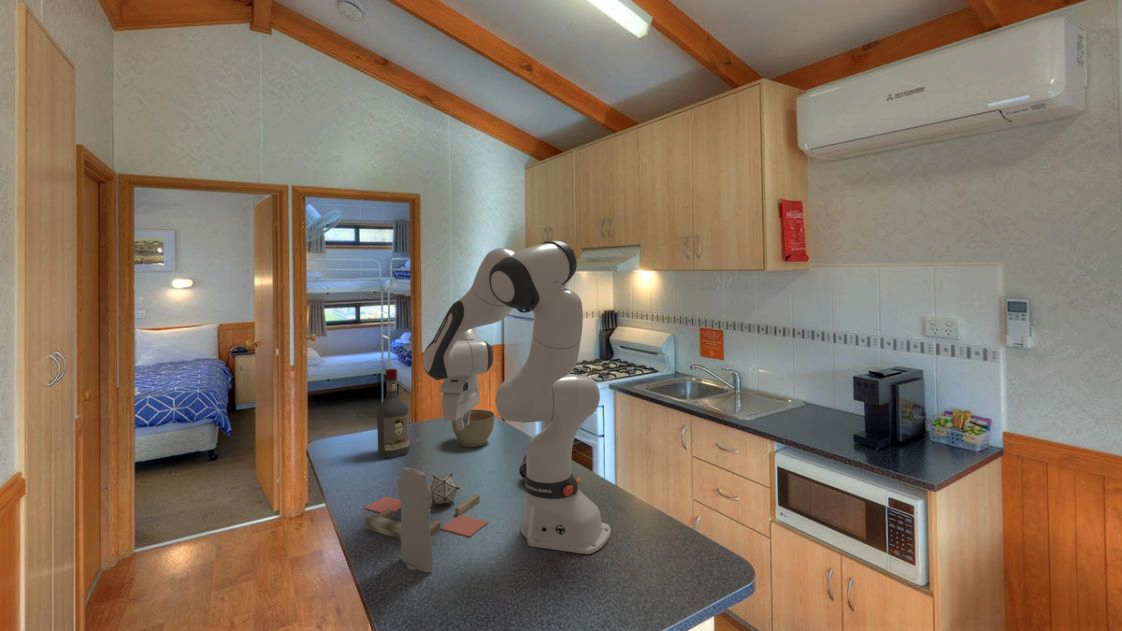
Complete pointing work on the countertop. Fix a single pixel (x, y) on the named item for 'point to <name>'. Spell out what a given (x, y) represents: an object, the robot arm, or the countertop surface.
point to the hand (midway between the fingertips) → (463, 427)
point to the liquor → (392, 421)
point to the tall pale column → (415, 520)
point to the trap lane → (393, 528)
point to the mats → (457, 525)
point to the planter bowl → (476, 428)
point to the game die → (443, 489)
